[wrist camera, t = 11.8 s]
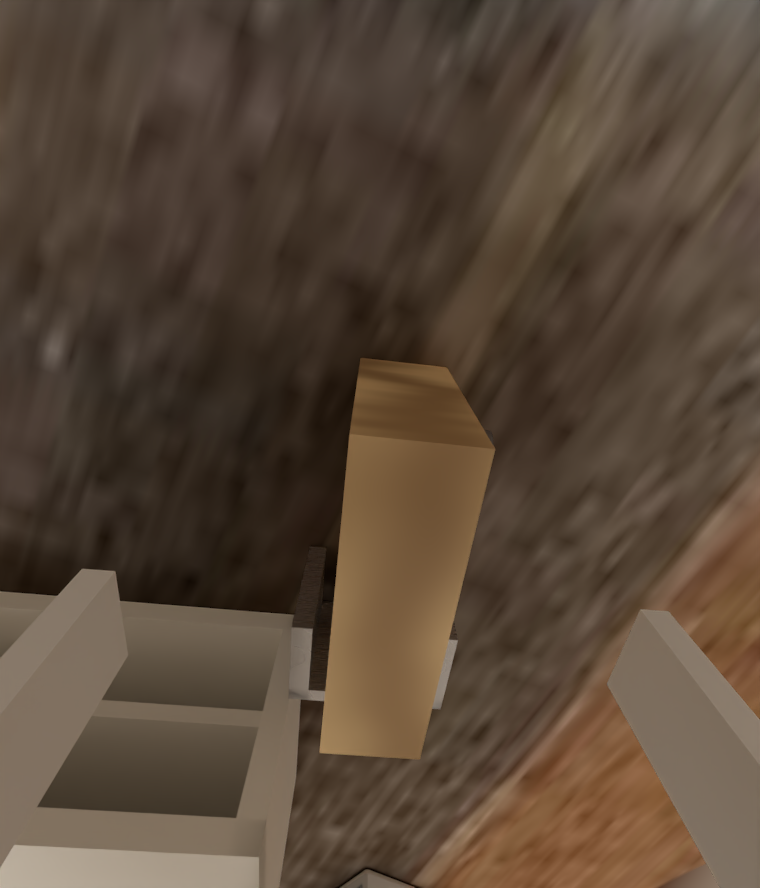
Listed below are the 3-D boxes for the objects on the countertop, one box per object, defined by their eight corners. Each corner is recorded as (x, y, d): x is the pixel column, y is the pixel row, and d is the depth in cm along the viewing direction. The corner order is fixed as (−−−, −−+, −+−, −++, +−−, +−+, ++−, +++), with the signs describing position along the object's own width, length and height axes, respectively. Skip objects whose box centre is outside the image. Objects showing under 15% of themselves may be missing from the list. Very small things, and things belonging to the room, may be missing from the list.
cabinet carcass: (9, 759, 28) (-171, 1010, 19) (-54, 587, 22) (-357, 826, 13) (296, 776, 29) (258, 1023, 20) (305, 615, 23) (259, 857, 14)
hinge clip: (306, 608, 23) (288, 698, 18) (309, 545, 21) (291, 627, 17) (427, 618, 23) (440, 709, 19) (440, 557, 22) (457, 640, 17)
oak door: (337, 588, 22) (319, 752, 15) (360, 357, 18) (349, 434, 10) (423, 596, 23) (446, 760, 15) (469, 369, 18) (534, 453, 11)
